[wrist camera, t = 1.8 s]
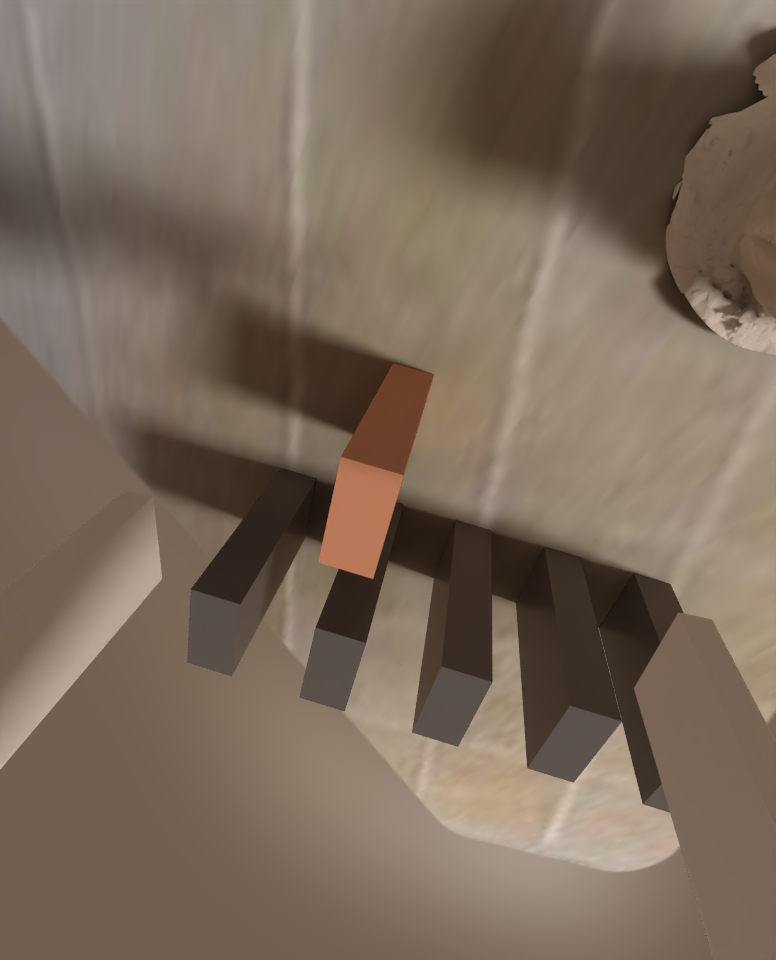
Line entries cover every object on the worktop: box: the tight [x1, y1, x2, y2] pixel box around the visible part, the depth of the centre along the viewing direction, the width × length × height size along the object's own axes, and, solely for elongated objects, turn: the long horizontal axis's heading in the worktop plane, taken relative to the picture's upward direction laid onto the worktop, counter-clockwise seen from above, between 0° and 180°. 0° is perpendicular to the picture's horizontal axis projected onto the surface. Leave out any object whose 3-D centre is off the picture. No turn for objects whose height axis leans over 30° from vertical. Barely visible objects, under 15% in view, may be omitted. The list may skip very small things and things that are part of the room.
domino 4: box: [412, 521, 492, 747], centre depth 30 cm, size 2×5×12 cm, turn 167°
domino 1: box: [187, 468, 316, 676], centre depth 30 cm, size 2×5×12 cm, turn 167°
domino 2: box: [318, 363, 434, 579], centre depth 25 cm, size 2×5×12 cm, turn 167°
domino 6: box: [599, 574, 683, 812], centre depth 29 cm, size 2×5×12 cm, turn 167°
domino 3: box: [300, 503, 403, 711], centre depth 30 cm, size 2×5×12 cm, turn 167°
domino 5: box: [516, 547, 622, 782], centre depth 29 cm, size 2×5×12 cm, turn 167°
